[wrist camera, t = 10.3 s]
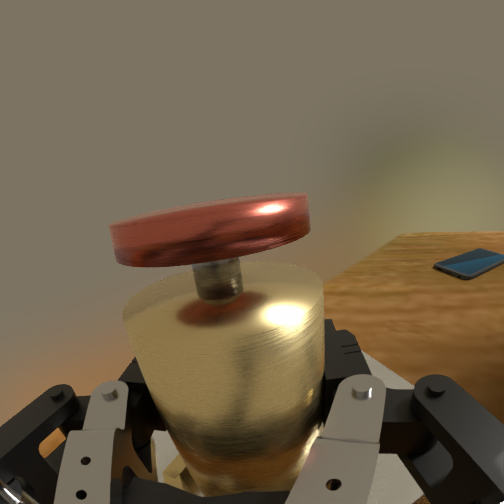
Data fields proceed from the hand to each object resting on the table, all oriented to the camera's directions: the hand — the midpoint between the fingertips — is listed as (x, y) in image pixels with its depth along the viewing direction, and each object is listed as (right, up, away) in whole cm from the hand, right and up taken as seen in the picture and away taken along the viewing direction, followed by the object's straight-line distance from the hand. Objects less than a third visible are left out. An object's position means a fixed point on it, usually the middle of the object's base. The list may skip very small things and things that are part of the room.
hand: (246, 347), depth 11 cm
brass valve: (+1, -7, -1) cm, 7 cm away
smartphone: (+35, +1, +24) cm, 42 cm away
